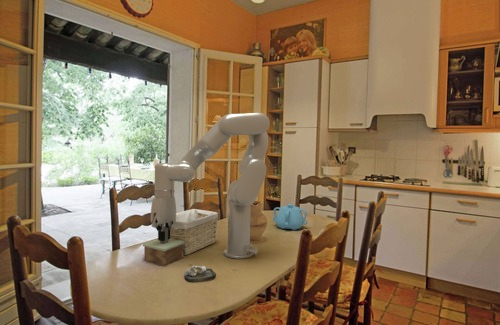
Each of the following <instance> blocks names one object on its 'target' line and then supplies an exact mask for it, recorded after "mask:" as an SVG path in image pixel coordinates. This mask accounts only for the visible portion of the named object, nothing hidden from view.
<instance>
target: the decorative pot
mask: <svg viewBox="0 0 500 325" xmlns="http://www.w3.org/2000/svg"><path fill="white" fill-rule="evenodd" d="M276 210H278V212H276ZM302 212H304V215H303V213H302ZM273 215H274V216H273V217H272V222H274V223H275V224H276V226H277V227H278V228H280V229H281V230H286V229H290V230H292V231H297V230H298V229H301V228H302V226H303V225H304V226H305V225H307V224H308V220H306V218H307V215H308V212H307V210H305V209H303V208H300V207H299V206H294V204H293V203H287V205H283V206H281V207H279V206H278V207H277V206H276V207H274V209H273Z"/></svg>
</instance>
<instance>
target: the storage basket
mask: <svg viewBox="0 0 500 325" xmlns="http://www.w3.org/2000/svg"><path fill="white" fill-rule="evenodd" d="M201 216H202V217H201ZM218 219H219V214H218V212H217V211H211V210H206V209H205V210H204V209H196V208H192V209H186V210H183V211H180V212H176V221H175V222H174V223H173V224H172V228H171V229H170V238H171V239H176V240H180V241H185V243H184V244H183V256H188V255H191V254H192V253H195V252H198V250H199V251H200V250H201V249H204V248H206V247H208V246H210V245H212V244H215V243H216V241H217V228H218V221H219V220H218ZM160 226H161V225H160Z"/></svg>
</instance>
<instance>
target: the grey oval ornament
mask: <svg viewBox="0 0 500 325" xmlns="http://www.w3.org/2000/svg"><path fill="white" fill-rule="evenodd" d="M216 275H217V273H216V272H215V270H213V269H212V268H207V267H206V266H205V265H192V266H191V267H190V268H187V269H186V270H185V271H184V280H185V281H186V282H187V283H194V284H195V283H202V282H203V283H204V282H209V281H213V280H215V279H216V277H217V276H216Z"/></svg>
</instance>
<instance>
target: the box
mask: <svg viewBox="0 0 500 325" xmlns="http://www.w3.org/2000/svg"><path fill="white" fill-rule="evenodd" d="M143 247H144V254H143V256H144V258H143V259H144V262H147V263H151V264H155V265H158V266H162V267H165V266H168V265H170V264H172V263H174V262H177V261H180V260H182V259H183V258H184V255H183V244H182V245H179V246H176V247H174V248H171V249H169V250H166V251H162V250H157V249H153V248H149V247H145V246H143Z"/></svg>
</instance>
